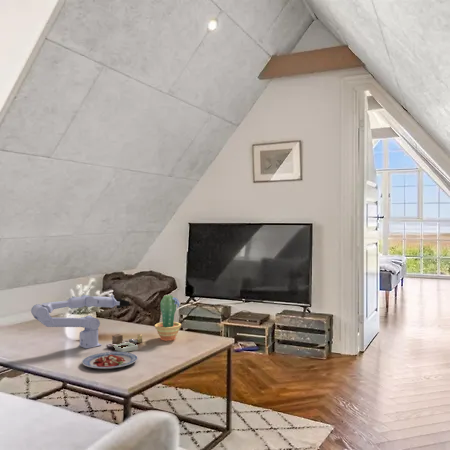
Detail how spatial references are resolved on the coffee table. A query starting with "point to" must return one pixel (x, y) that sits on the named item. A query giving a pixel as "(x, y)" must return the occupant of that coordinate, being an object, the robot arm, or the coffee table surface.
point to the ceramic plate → (109, 360)
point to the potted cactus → (168, 319)
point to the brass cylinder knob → (139, 339)
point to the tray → (126, 349)
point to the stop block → (117, 339)
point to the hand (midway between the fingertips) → (126, 303)
